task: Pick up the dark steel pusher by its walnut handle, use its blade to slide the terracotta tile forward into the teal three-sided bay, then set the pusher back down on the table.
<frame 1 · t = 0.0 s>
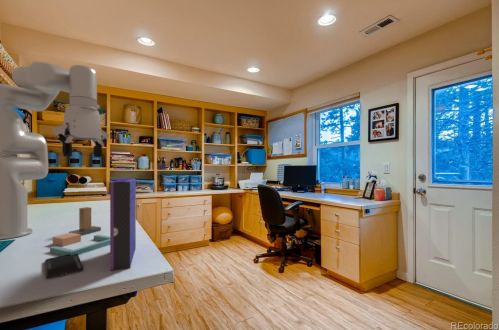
hand: (83, 156, 80), 31 cm above the table, tool pointing down, fingers open, 9 cm apart
tile: (67, 243, 88), on the table
pusher: (85, 233, 101), on the table
bay: (84, 246, 84), on the table
phone: (63, 268, 68), on the table
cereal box: (124, 258, 74), on the table
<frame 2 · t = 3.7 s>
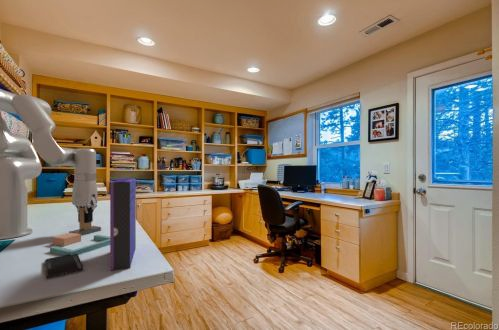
hand: (85, 221, 101), 5 cm above the table, tool pointing down, fingers closed on pusher, 3 cm apart
pusher: (85, 233, 101), on the table, touching gripper
everything else where it was.
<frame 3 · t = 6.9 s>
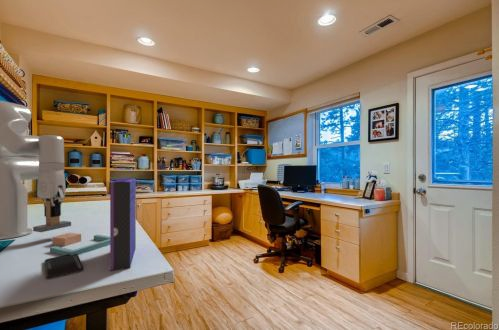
hand: (52, 215, 92), 9 cm above the table, tool pointing down, fingers closed on pusher, 3 cm apart
pusher: (52, 228, 92), point 4 cm above the table, touching gripper
everything else where it was.
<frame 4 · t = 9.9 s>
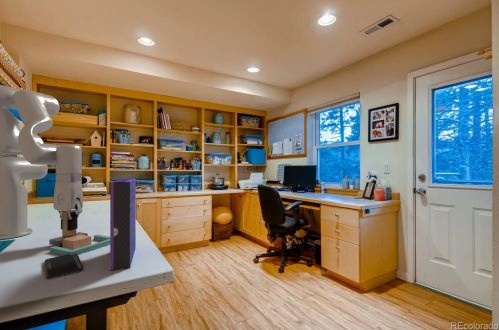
hand: (69, 228, 88), 5 cm above the table, tool pointing down, fingers closed on pusher, 3 cm apart
tile: (77, 246, 85), on the table, touching pusher
pusher: (69, 240, 88), point 1 cm above the table, touching gripper, tile
everything else where it was.
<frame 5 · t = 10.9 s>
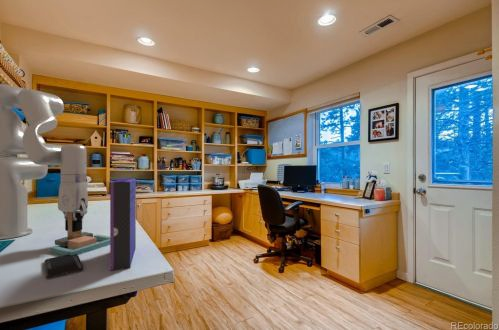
hand: (73, 229, 86), 5 cm above the table, tool pointing down, fingers closed on pusher, 3 cm apart
tile: (82, 247, 84), on the table
pusher: (74, 241, 87), point 1 cm above the table, touching gripper
everything else where it was.
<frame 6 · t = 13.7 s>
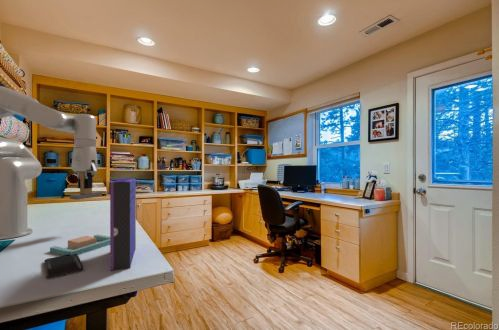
hand: (85, 187, 101), 19 cm above the table, tool pointing down, fingers closed on pusher, 3 cm apart
pusher: (86, 197, 101), point 15 cm above the table, touching gripper
everything else where it was.
when the fingers open (6 cm above the table, at t = 16.3 s): pusher drops 2 cm, on the table.
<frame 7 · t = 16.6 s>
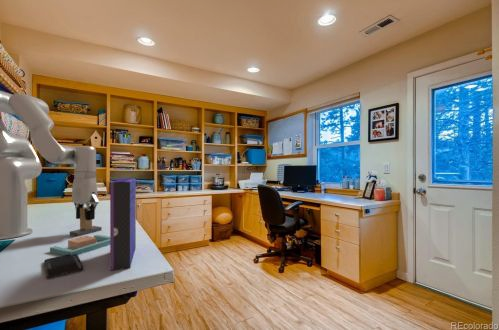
hand: (85, 218, 101), 6 cm above the table, tool pointing down, fingers open, 5 cm apart
pusher: (86, 233, 101), on the table
everything else where it was.
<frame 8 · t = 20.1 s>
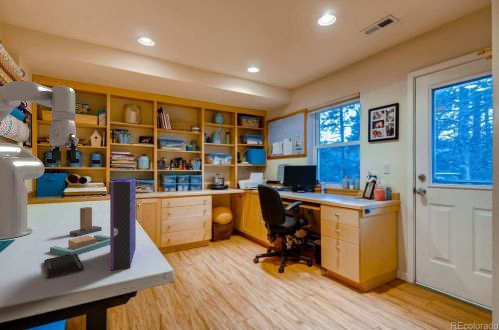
hand: (63, 160, 97), 30 cm above the table, tool pointing down, fingers open, 9 cm apart
nothing on the table moved.
at the end: tile 0.8 cm off-centre on the bay, point 0.0 cm above the bay's base; pusher inside the target area (0.3 cm from its centre), on the table; pusher tilted 0° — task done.
